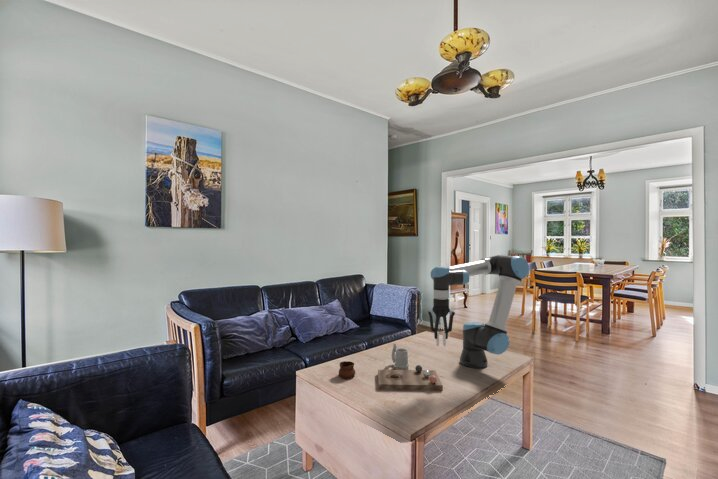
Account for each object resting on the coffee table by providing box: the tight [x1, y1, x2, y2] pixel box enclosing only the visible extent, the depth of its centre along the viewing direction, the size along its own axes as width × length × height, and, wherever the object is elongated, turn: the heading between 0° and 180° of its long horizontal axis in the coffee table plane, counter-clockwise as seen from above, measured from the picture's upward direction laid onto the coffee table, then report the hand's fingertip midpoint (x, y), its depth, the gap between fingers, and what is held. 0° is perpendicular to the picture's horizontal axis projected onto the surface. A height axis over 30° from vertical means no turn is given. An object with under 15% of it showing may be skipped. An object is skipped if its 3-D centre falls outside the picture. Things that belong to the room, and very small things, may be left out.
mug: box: [391, 343, 409, 370], centre depth 191 cm, size 8×12×12 cm, turn 36°
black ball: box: [414, 364, 423, 372], centre depth 177 cm, size 4×4×4 cm
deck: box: [377, 369, 444, 392], centre depth 171 cm, size 30×18×2 cm, turn 88°
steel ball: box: [423, 369, 430, 378], centre depth 170 cm, size 4×4×4 cm
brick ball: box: [429, 375, 437, 383], centre depth 164 cm, size 4×4×4 cm
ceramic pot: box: [338, 360, 356, 380], centre depth 178 cm, size 18×18×7 cm
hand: (441, 345), depth 170 cm, fingers open, 3 cm apart
